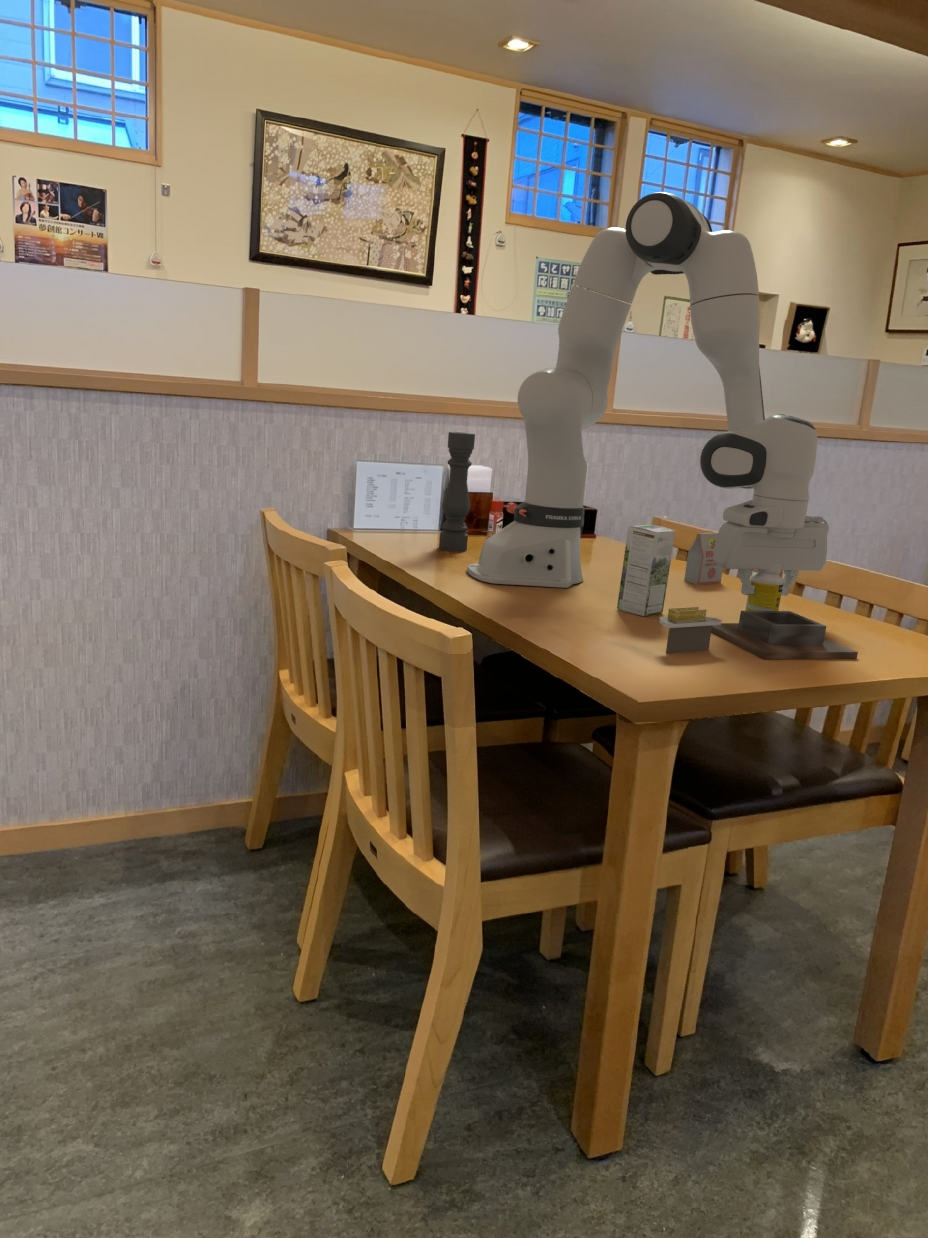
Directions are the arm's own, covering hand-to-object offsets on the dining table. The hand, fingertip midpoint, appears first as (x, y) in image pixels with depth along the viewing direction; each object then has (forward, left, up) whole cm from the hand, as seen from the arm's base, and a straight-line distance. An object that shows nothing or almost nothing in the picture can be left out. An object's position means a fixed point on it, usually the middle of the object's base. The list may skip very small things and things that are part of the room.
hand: (764, 594), depth 153 cm
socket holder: (-7, -15, -4) cm, 17 cm away
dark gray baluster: (-39, +58, -4) cm, 70 cm away
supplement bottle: (0, 0, -4) cm, 4 cm away
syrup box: (-21, +4, -4) cm, 22 cm away
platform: (-25, -18, -5) cm, 31 cm away
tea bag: (+6, +29, -4) cm, 30 cm away
